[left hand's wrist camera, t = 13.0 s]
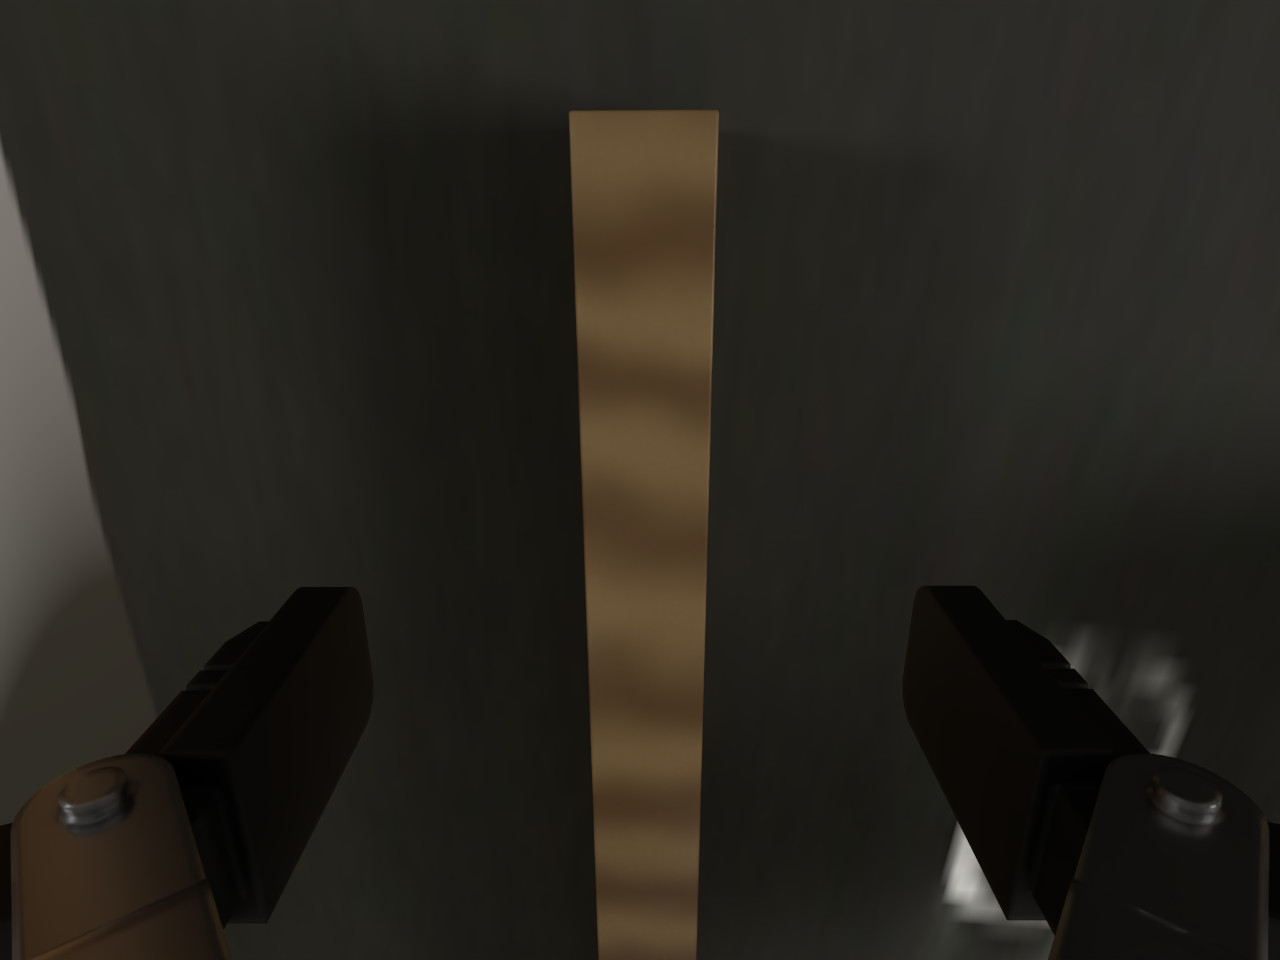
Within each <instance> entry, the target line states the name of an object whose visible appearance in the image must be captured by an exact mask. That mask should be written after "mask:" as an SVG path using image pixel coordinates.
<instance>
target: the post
mask: <svg viewBox="0 0 1280 960" xmlns="http://www.w3.org/2000/svg"><path fill="white" fill-rule="evenodd" d="M718 131H719V111H718V110H716V109H693V110H571V111H570V112H569V135H570V163H571V192H572V220H573V249H574V277H575V306H576V334H577V362H578V391H579V419H580V448H581V476H582V505H583V533H584V562H585V590H586V619H587V647H588V675H589V704H590V732H591V761H592V789H593V818H594V846H595V875H596V903H597V932H598V960H696V957H697V919H698V882H699V844H700V807H701V769H702V732H703V694H704V657H705V619H706V581H707V544H708V506H709V469H710V431H711V394H712V356H713V319H714V281H715V244H716V206H717V168H718Z"/></svg>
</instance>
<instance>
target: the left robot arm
mask: <svg viewBox="0 0 1280 960" xmlns="http://www.w3.org/2000/svg"><path fill="white" fill-rule="evenodd" d="M903 700H904V707H905V711H906V715H907V719H908V721H909V724H910V726H911V728H912V730H913V732H914V734H915V736H916V738H917V740H918V742H919V744H920V746H921V748H922V750H923V752H924V754H925V756H926V758H927V760H928V762H929V764H930V766H931V768H932V770H933V772H934V774H935V776H936V778H937V780H938V782H939V784H940V786H941V788H942V790H943V792H944V794H945V796H946V798H947V800H948V802H949V804H950V806H951V808H952V810H953V812H954V814H955V816H956V818H957V820H958V822H959V824H960V826H961V828H962V830H963V832H964V834H965V836H966V838H967V840H968V842H969V844H970V847H971V849H972V851H973V853H974V855H975V857H976V859H977V861H978V863H979V865H980V867H981V869H982V871H983V873H984V875H985V877H986V879H987V881H988V883H989V885H990V887H991V889H992V891H993V893H994V895H995V897H996V899H997V901H998V903H999V905H1000V907H1001V909H1002V911H1003V913H1004V915H1005V917H1006V919H1007V920H1046V921H1047V922H1048V924H1049V926H1050V928H1051V930H1052V931H1053V933H1054V935H1055V938H1054V941H1053V945H1052V948H1051V951H1050V955H1049V958H1048V960H1280V824H1275V823H1271V822H1267V821H1266V818H1265V816H1264V815H1263V813H1262V812H1261V810H1260V809H1259V807H1258V806H1257V805H1256V804H1255V803H1254V802H1253V801H1252V800H1251V799H1250V798H1249V797H1248V796H1247V795H1246V794H1245V793H1243V792H1242V791H1241V790H1240V789H1238V788H1237V787H1236V786H1234V785H1233V784H1231V783H1230V782H1228V781H1227V780H1225V779H1223V778H1222V777H1220V776H1218V775H1217V774H1215V773H1213V772H1210V771H1208V770H1206V769H1204V768H1202V767H1200V766H1197V765H1195V764H1192V763H1189V762H1186V761H1183V760H1180V759H1177V758H1172V757H1168V756H1164V755H1156V754H1150V753H1149V752H1148V751H1147V750H1146V748H1145V747H1144V746H1143V745H1142V744H1141V743H1140V742H1139V741H1138V739H1137V738H1136V737H1135V736H1134V735H1133V734H1132V733H1131V732H1130V730H1129V729H1128V728H1127V727H1126V726H1125V725H1124V724H1123V723H1122V722H1121V720H1120V719H1119V718H1118V717H1117V716H1116V715H1115V714H1114V713H1113V711H1112V710H1111V709H1110V708H1109V707H1108V706H1107V705H1106V704H1105V702H1104V701H1103V700H1102V699H1101V698H1100V697H1099V696H1098V695H1097V694H1096V692H1095V691H1094V690H1093V689H1088V683H1087V682H1086V681H1085V680H1084V679H1083V678H1082V677H1081V676H1080V674H1079V673H1078V672H1077V671H1076V670H1075V669H1071V668H1070V663H1069V662H1068V661H1067V660H1066V659H1065V658H1064V657H1063V655H1062V654H1061V653H1060V652H1059V651H1058V650H1057V649H1056V648H1055V646H1054V645H1053V644H1052V643H1051V642H1050V641H1049V640H1048V639H1046V638H1044V637H1043V636H1041V635H1039V634H1038V633H1036V632H1035V631H1033V630H1031V629H1030V628H1028V627H1026V626H1025V625H1023V624H1022V623H1020V622H1018V621H1017V620H1005V619H1004V618H1003V616H1002V615H1001V614H1000V613H999V612H998V610H997V609H996V608H995V607H994V606H993V604H992V603H991V602H990V601H989V600H988V598H987V597H986V596H985V595H984V594H983V592H982V591H981V590H980V589H979V588H978V587H976V586H921V587H920V588H919V589H918V591H917V593H916V595H915V599H914V604H913V611H912V618H911V625H910V632H909V639H908V646H907V654H906V661H905V668H904V675H903ZM372 701H373V676H372V669H371V662H370V655H369V648H368V641H367V635H366V628H365V621H364V614H363V607H362V601H361V597H360V595H359V592H358V591H357V589H355V588H354V587H300V588H298V589H297V590H296V591H295V592H294V593H293V594H292V595H291V597H290V598H289V599H288V600H287V601H286V602H285V604H284V605H283V606H282V607H281V608H280V610H279V611H278V612H277V613H276V614H275V615H274V617H273V618H272V619H271V620H270V621H269V622H258V623H256V624H254V625H253V626H251V627H249V628H248V629H246V630H244V631H243V632H241V633H240V634H238V635H236V636H235V637H233V638H231V639H230V640H228V641H227V642H225V643H224V645H223V646H222V647H221V648H220V649H219V650H218V651H217V652H216V653H215V655H214V656H213V657H212V658H211V659H210V660H209V661H208V662H207V663H206V664H205V666H204V671H199V672H198V673H197V674H196V676H195V677H194V678H193V679H192V680H191V681H190V682H189V683H188V684H187V686H186V691H181V692H180V693H179V694H178V696H177V697H176V698H175V699H174V700H173V701H172V702H171V703H170V704H169V706H168V707H167V708H166V709H165V710H164V711H163V712H162V713H161V714H160V716H159V717H158V718H157V719H156V720H155V721H154V722H153V723H152V724H151V726H150V727H149V728H148V729H147V730H146V731H145V732H144V733H143V734H142V736H141V737H140V738H139V739H138V740H137V741H136V742H135V743H134V744H133V746H132V747H131V748H130V749H129V750H128V751H127V752H126V753H125V754H124V755H117V756H112V757H108V758H103V759H100V760H97V761H94V762H91V763H88V764H85V765H83V766H80V767H78V768H76V769H74V770H72V771H70V772H67V773H65V774H63V775H62V776H60V777H58V778H57V779H55V780H53V781H52V782H50V783H49V784H47V785H46V786H44V787H43V788H42V789H40V790H39V791H38V792H37V793H35V794H34V795H33V796H32V797H31V798H30V799H29V800H28V801H27V802H26V803H25V804H24V805H23V806H22V807H21V809H20V810H19V812H18V813H17V815H16V816H15V818H14V821H13V823H10V824H5V825H1V826H0V960H232V958H231V955H230V951H229V948H228V945H227V941H226V938H225V934H224V931H223V930H224V928H225V926H226V925H227V923H267V922H268V920H269V918H270V916H271V914H272V912H273V910H274V908H275V906H276V904H277V902H278V900H279V898H280V896H281V894H282V892H283V890H284V888H285V886H286V884H287V882H288V880H289V878H290V876H291V874H292V872H293V870H294V868H295V866H296V864H297V862H298V860H299V858H300V856H301V854H302V852H303V850H304V848H305V846H306V844H307V842H308V840H309V838H310V836H311V834H312V832H313V831H314V829H315V827H316V825H317V823H318V821H319V819H320V817H321V815H322V813H323V811H324V809H325V807H326V805H327V803H328V801H329V799H330V797H331V795H332V793H333V791H334V789H335V787H336V785H337V783H338V781H339V779H340V777H341V775H342V773H343V771H344V769H345V767H346V765H347V763H348V761H349V759H350V757H351V755H352V753H353V751H354V749H355V747H356V745H357V743H358V741H359V739H360V737H361V735H362V733H363V731H364V729H365V727H366V725H367V723H368V720H369V717H370V713H371V708H372Z"/></svg>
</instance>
